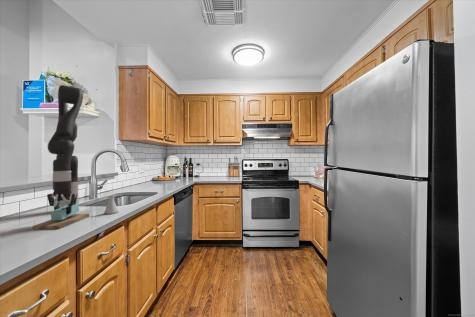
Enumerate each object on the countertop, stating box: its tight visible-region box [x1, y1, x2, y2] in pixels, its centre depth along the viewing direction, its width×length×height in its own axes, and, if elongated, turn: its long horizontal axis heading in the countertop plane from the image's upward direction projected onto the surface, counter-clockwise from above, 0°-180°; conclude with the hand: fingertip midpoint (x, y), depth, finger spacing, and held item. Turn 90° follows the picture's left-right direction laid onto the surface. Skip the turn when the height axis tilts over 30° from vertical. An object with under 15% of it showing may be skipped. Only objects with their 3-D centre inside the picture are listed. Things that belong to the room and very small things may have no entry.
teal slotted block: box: [50, 203, 80, 220], centre depth 123 cm, size 5×13×4 cm, turn 1°
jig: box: [32, 213, 90, 230], centre depth 121 cm, size 12×22×5 cm, turn 0°
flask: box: [103, 194, 119, 215], centre depth 140 cm, size 7×7×10 cm
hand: (62, 214), depth 121 cm, fingers closed on teal slotted block, 5 cm apart
